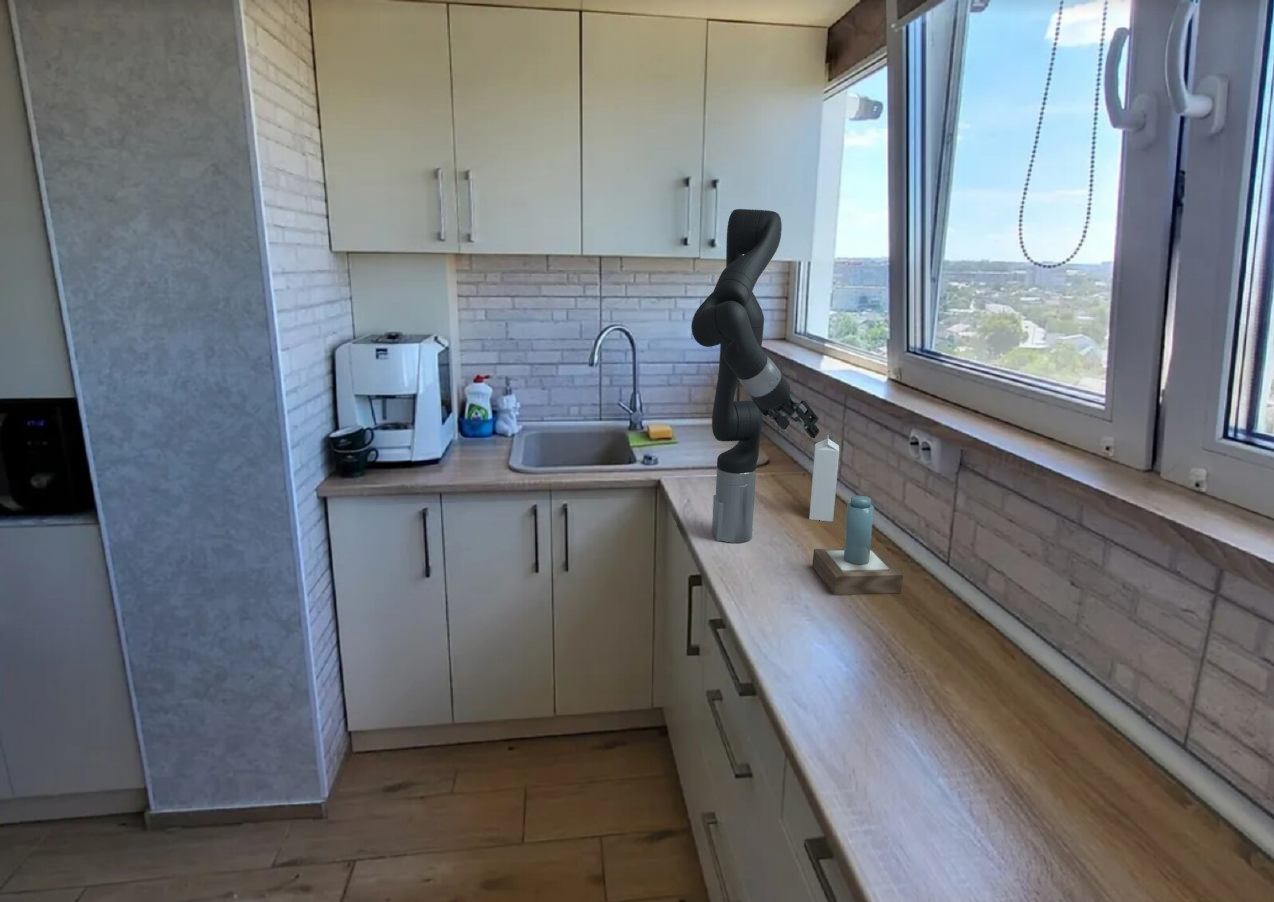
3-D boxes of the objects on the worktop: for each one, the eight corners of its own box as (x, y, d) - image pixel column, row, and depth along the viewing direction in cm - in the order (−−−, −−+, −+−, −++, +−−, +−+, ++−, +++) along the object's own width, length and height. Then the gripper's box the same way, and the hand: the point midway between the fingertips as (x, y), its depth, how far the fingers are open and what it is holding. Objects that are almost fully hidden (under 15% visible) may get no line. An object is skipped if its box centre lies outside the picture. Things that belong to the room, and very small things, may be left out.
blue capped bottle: (848, 564, 152) (852, 502, 149) (840, 555, 157) (844, 494, 154) (873, 564, 153) (878, 502, 149) (864, 554, 158) (868, 494, 154)
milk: (809, 519, 190) (815, 437, 184) (809, 512, 196) (815, 431, 190) (833, 522, 189) (840, 439, 183) (833, 514, 194) (840, 433, 189)
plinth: (834, 594, 149) (836, 574, 148) (812, 565, 162) (814, 547, 161) (900, 592, 150) (903, 573, 149) (873, 564, 164) (875, 546, 162)
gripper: (799, 372, 140) (836, 423, 149) (749, 361, 152) (786, 410, 161) (777, 402, 139) (815, 452, 148) (728, 389, 150) (767, 437, 160)
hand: (800, 430), depth 154 cm, fingers open, 8 cm apart
